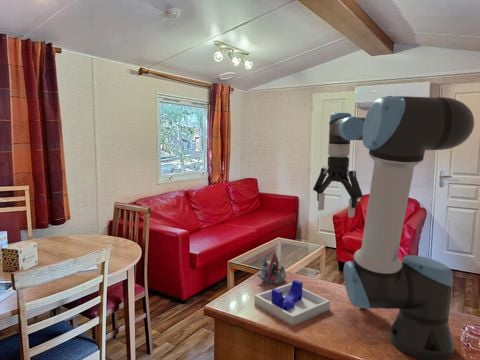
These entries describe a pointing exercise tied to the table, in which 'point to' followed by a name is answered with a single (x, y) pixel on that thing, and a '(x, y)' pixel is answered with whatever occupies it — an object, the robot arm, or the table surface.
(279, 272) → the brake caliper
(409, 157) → the robot arm
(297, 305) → the kit tray
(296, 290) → the blue curved block
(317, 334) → the table surface
